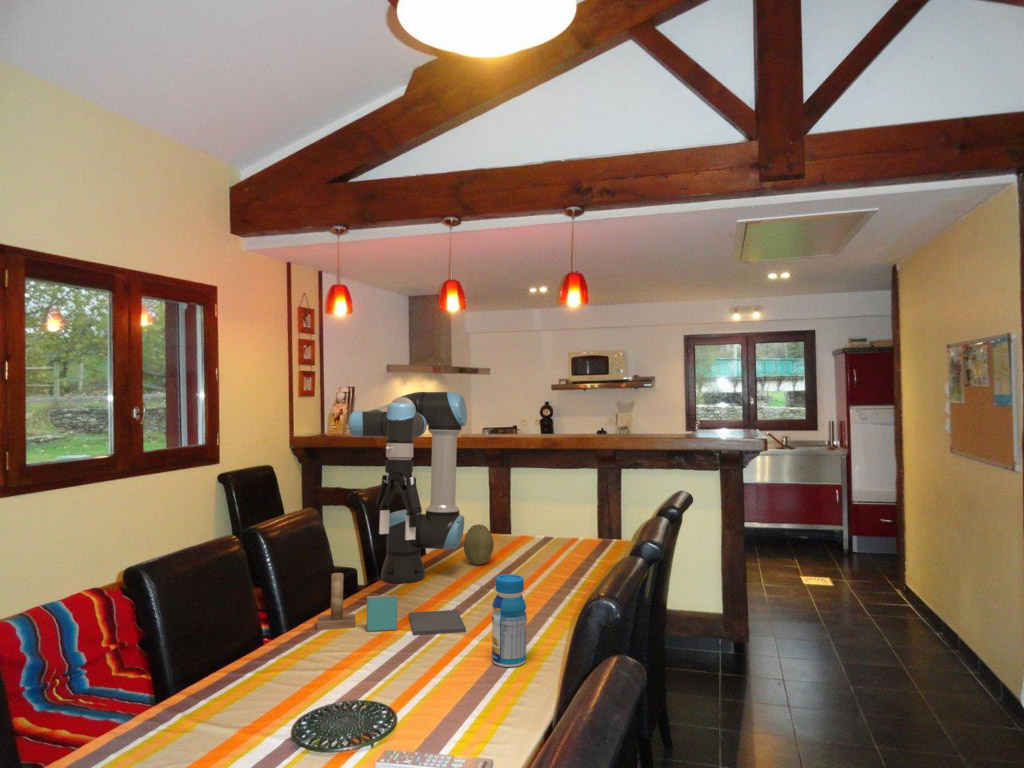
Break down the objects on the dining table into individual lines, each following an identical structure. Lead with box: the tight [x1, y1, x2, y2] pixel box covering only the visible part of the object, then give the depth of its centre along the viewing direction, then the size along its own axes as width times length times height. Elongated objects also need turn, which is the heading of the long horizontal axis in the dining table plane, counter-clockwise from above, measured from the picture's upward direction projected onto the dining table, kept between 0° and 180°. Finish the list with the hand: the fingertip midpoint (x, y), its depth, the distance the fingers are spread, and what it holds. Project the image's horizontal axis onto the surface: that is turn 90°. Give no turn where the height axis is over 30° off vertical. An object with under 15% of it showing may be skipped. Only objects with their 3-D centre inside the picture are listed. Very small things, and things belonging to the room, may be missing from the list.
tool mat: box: [408, 609, 467, 636], centre depth 189 cm, size 16×14×1 cm
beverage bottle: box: [491, 573, 528, 668], centre depth 163 cm, size 8×8×20 cm
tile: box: [366, 594, 398, 633], centre depth 184 cm, size 2×8×9 cm, turn 103°
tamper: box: [316, 572, 356, 631], centre depth 187 cm, size 6×10×14 cm, turn 103°
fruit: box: [463, 523, 495, 566], centre depth 257 cm, size 11×11×15 cm
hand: (396, 536), depth 187 cm, fingers open, 13 cm apart
